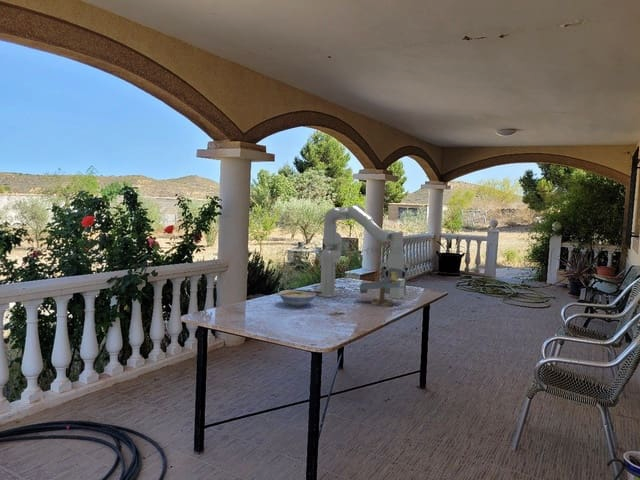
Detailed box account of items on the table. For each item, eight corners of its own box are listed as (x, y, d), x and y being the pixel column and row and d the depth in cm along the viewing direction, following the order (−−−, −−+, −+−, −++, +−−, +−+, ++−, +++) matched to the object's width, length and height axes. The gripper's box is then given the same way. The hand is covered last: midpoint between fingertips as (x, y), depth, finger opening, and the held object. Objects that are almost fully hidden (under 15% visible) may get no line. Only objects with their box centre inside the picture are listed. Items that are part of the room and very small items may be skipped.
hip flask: (405, 293, 326) (407, 265, 324) (404, 294, 322) (406, 266, 321) (383, 291, 332) (384, 264, 330) (382, 292, 328) (383, 264, 326)
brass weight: (390, 284, 289) (389, 273, 288) (390, 283, 294) (389, 272, 293) (398, 284, 288) (397, 272, 287) (398, 282, 293) (397, 271, 292)
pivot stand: (371, 305, 285) (372, 287, 284) (373, 299, 303) (373, 282, 302) (391, 306, 283) (392, 288, 282) (391, 300, 300) (392, 283, 300)
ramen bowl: (269, 305, 275) (269, 292, 275) (289, 299, 295) (289, 286, 295) (305, 311, 264) (306, 297, 263) (324, 304, 284) (324, 291, 283)
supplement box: (399, 299, 307) (399, 280, 306) (389, 297, 311) (389, 278, 310) (404, 297, 312) (405, 279, 311) (394, 296, 317) (395, 277, 316)
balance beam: (360, 293, 290) (359, 285, 289) (361, 290, 299) (360, 283, 299) (400, 291, 285) (399, 282, 285) (400, 288, 295) (399, 280, 295)
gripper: (382, 250, 287) (380, 277, 288) (410, 251, 284) (409, 279, 285) (382, 249, 294) (381, 275, 295) (410, 250, 291) (409, 277, 292)
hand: (395, 277), depth 290 cm, fingers open, 9 cm apart
